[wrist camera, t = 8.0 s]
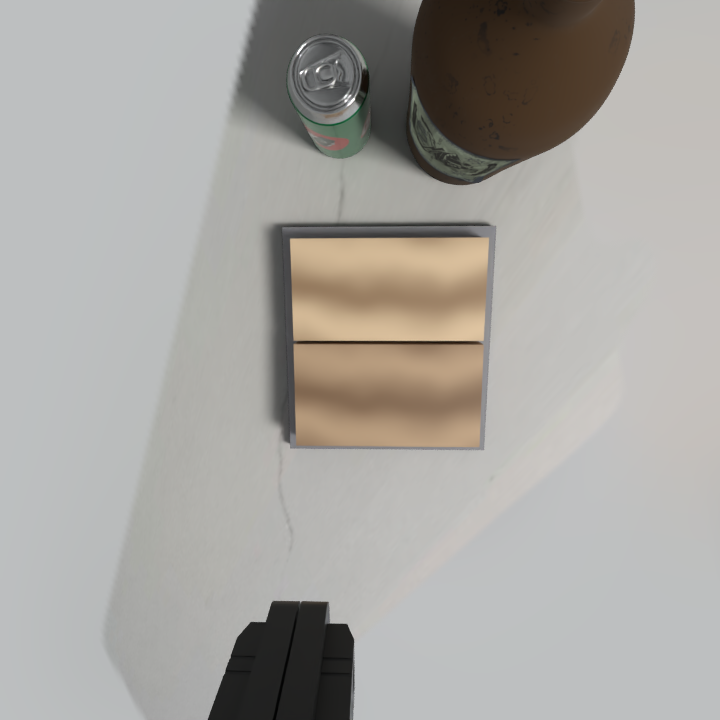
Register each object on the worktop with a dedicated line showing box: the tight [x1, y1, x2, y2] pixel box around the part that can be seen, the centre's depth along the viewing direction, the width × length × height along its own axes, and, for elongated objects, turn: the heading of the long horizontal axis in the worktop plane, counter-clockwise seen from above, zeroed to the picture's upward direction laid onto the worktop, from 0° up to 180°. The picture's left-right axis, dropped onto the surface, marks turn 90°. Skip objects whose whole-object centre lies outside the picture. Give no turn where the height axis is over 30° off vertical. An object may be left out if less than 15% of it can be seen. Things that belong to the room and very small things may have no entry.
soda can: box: [286, 34, 371, 159], centre depth 34 cm, size 5×5×12 cm
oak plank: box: [290, 238, 489, 341], centre depth 40 cm, size 8×16×2 cm, turn 90°
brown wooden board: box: [294, 341, 484, 447], centre depth 42 cm, size 9×16×2 cm, turn 90°
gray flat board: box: [282, 226, 496, 450], centre depth 43 cm, size 20×18×1 cm
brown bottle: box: [406, 0, 635, 185], centre depth 27 cm, size 11×11×25 cm
